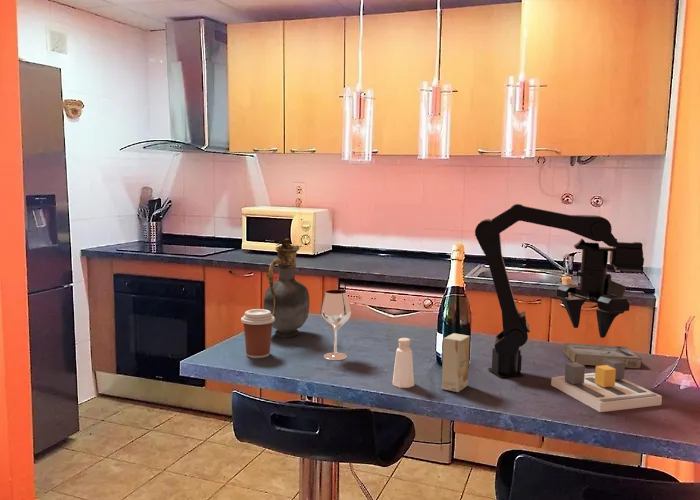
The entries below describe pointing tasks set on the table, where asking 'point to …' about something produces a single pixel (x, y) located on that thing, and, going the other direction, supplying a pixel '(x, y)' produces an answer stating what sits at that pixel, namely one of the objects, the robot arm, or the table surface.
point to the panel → (604, 389)
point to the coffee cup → (257, 332)
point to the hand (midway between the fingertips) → (588, 332)
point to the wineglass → (335, 316)
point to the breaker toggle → (605, 376)
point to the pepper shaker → (403, 365)
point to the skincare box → (455, 362)
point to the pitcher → (286, 293)
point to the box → (600, 354)
